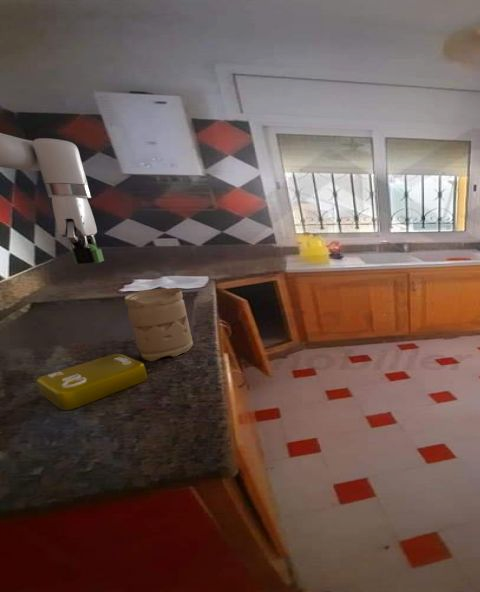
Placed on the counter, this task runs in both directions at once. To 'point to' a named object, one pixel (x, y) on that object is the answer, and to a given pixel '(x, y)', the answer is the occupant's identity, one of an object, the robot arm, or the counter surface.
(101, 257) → the toy
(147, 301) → the container
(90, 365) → the element tile
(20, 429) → the counter surface
